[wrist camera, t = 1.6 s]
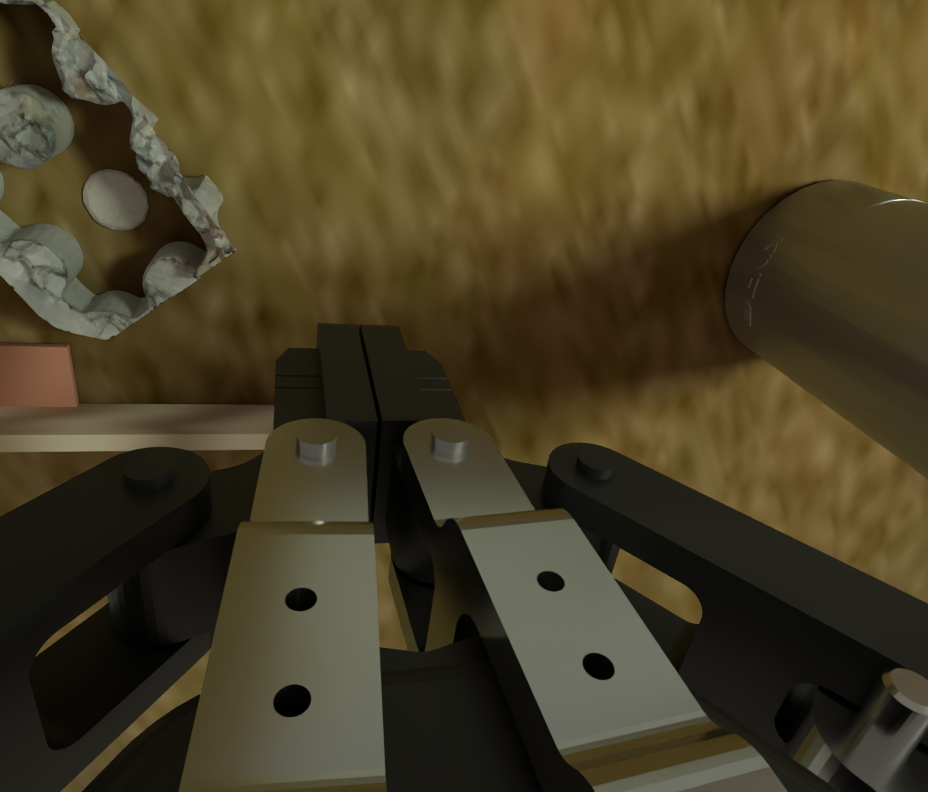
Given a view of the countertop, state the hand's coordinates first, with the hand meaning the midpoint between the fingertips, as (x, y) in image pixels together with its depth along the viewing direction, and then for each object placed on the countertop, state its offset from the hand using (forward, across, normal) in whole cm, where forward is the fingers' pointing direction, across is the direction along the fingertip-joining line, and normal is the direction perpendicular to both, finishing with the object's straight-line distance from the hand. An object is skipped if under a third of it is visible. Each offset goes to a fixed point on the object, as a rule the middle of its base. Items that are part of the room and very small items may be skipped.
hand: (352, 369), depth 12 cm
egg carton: (+16, +9, 0) cm, 18 cm away
